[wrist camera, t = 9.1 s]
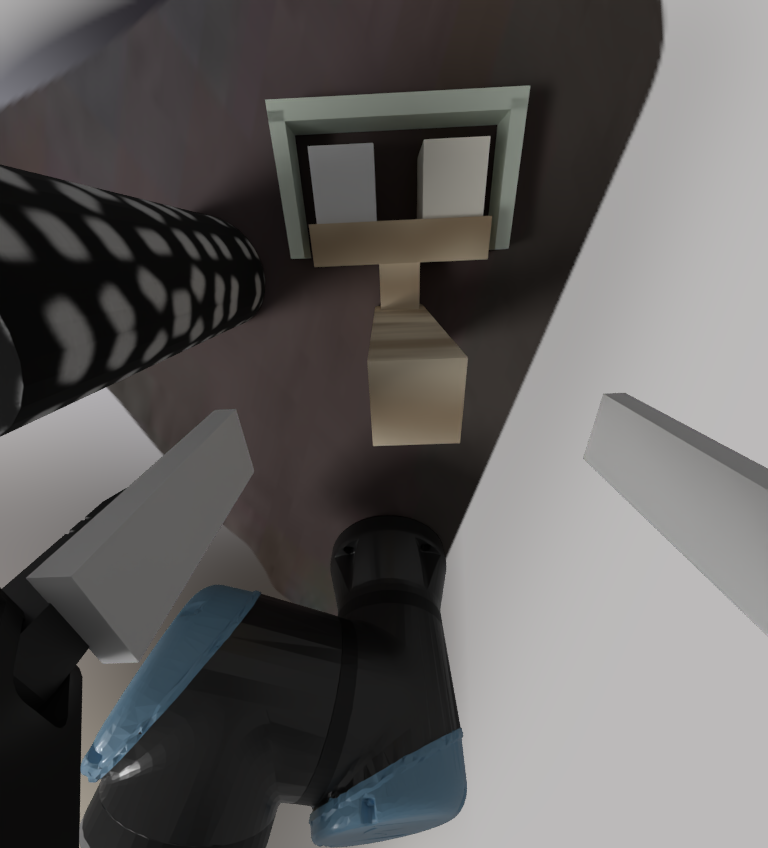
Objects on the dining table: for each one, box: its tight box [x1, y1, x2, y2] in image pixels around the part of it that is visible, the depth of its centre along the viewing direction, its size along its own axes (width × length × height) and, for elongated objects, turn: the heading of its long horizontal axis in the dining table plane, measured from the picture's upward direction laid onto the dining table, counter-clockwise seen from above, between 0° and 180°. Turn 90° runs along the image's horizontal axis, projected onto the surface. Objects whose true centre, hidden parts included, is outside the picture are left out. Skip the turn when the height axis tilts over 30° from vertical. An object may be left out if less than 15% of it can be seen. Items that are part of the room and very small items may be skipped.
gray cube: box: [307, 143, 377, 224], centre depth 21 cm, size 4×4×4 cm
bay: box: [265, 86, 530, 259], centre depth 22 cm, size 8×16×2 cm, turn 92°
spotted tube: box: [0, 165, 265, 436], centre depth 17 cm, size 8×8×20 cm
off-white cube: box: [417, 136, 490, 219], centre depth 21 cm, size 4×4×4 cm
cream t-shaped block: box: [309, 216, 492, 446], centre depth 19 cm, size 10×12×16 cm
